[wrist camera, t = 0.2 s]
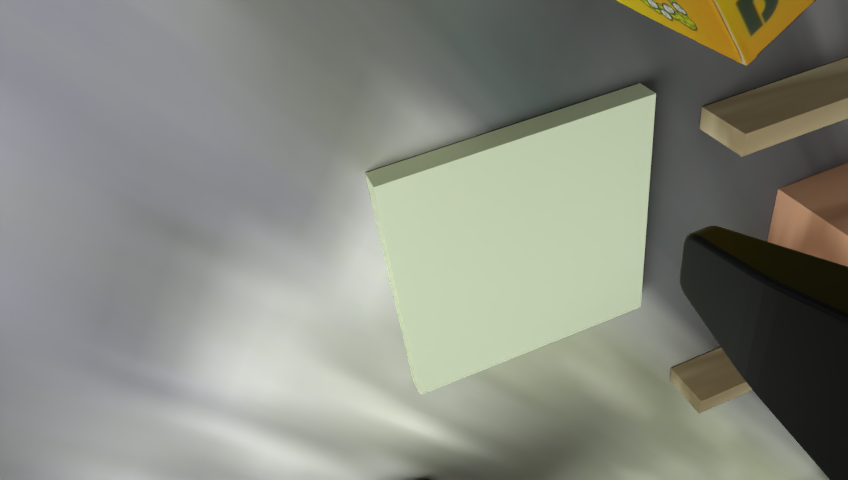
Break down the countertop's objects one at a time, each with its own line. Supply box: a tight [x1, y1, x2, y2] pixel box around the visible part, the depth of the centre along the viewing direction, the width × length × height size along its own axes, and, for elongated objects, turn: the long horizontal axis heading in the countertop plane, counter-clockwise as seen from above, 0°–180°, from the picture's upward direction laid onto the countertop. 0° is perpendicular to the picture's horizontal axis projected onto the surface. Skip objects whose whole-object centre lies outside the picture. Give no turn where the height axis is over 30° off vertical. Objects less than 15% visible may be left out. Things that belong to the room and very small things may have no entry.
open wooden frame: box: [670, 57, 848, 413], centre depth 35 cm, size 17×16×2 cm
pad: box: [365, 83, 656, 395], centre depth 29 cm, size 11×11×1 cm
